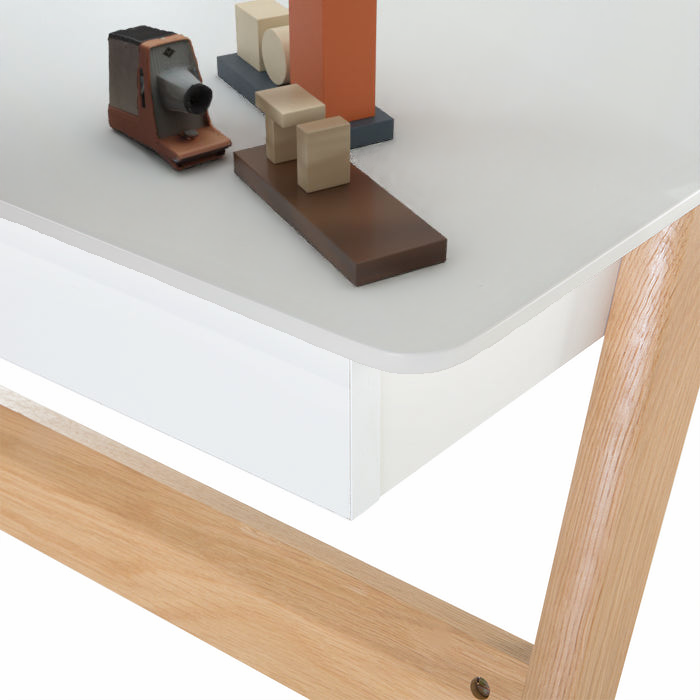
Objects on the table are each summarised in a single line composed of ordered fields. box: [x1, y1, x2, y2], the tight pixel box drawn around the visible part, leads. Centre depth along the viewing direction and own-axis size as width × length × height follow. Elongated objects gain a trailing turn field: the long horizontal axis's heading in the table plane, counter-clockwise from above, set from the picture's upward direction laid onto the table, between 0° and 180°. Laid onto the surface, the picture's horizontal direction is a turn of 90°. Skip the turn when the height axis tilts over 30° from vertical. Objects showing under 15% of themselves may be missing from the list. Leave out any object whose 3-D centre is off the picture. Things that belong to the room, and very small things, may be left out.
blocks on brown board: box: [232, 84, 448, 287], centre depth 75 cm, size 16×6×6 cm, turn 29°
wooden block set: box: [216, 0, 395, 150], centre depth 88 cm, size 16×6×6 cm, turn 29°
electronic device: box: [107, 24, 233, 171], centre depth 82 cm, size 4×10×8 cm, turn 39°
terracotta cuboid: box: [288, 0, 378, 122], centre depth 81 cm, size 5×4×15 cm
